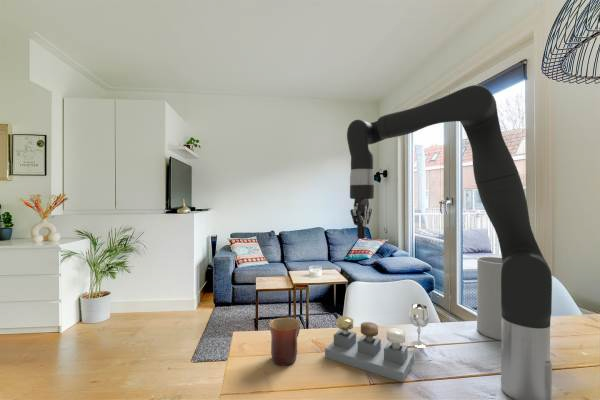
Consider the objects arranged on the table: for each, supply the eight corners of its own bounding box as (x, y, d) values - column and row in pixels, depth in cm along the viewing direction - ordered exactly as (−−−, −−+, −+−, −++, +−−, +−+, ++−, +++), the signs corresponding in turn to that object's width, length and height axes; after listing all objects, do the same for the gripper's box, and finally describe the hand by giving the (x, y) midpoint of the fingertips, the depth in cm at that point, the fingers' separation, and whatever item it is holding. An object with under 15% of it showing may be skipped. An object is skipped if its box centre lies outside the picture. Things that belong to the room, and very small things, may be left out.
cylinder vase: (468, 329, 107) (469, 258, 107) (492, 324, 112) (493, 255, 112) (504, 345, 96) (505, 265, 95) (529, 338, 100) (530, 262, 100)
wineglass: (430, 349, 92) (430, 310, 92) (410, 348, 94) (410, 308, 93) (426, 341, 98) (426, 303, 98) (407, 339, 99) (408, 302, 99)
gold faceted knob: (355, 338, 92) (355, 318, 92) (349, 345, 88) (349, 324, 88) (341, 334, 94) (341, 315, 94) (334, 340, 90) (334, 320, 90)
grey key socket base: (414, 360, 86) (414, 341, 86) (403, 382, 76) (403, 360, 76) (342, 341, 98) (342, 324, 98) (324, 357, 88) (325, 338, 88)
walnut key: (380, 345, 88) (380, 324, 88) (374, 352, 84) (374, 330, 84) (364, 341, 90) (364, 320, 90) (358, 347, 86) (358, 326, 86)
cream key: (407, 352, 84) (407, 330, 84) (402, 360, 79) (402, 337, 79) (389, 348, 86) (389, 326, 86) (384, 355, 82) (384, 333, 82)
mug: (288, 372, 80) (288, 333, 80) (262, 362, 85) (262, 325, 85) (310, 352, 90) (310, 317, 90) (286, 345, 95) (286, 312, 95)
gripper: (365, 182, 90) (365, 241, 90) (379, 184, 101) (379, 237, 101) (342, 183, 94) (341, 239, 94) (358, 185, 105) (358, 235, 105)
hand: (361, 238), depth 98 cm, fingers closed
